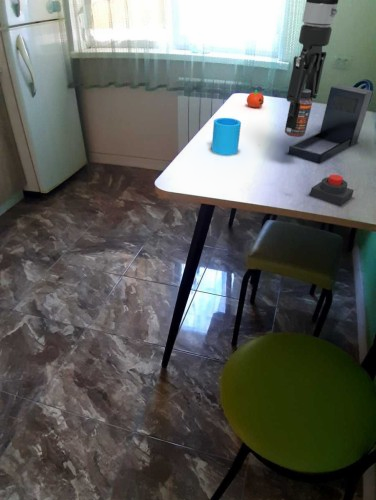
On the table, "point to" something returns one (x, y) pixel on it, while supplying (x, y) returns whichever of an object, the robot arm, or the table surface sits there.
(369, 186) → the table surface
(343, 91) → the dark l-shaped stand
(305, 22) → the robot arm
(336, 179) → the button
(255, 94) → the pumpkin
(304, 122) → the supplement bottle
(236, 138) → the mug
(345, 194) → the control block
